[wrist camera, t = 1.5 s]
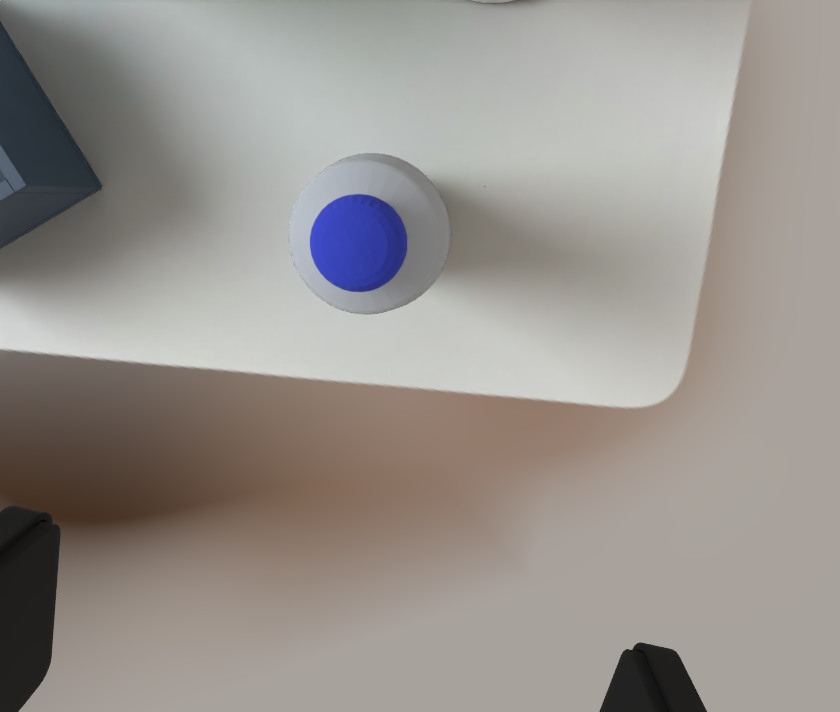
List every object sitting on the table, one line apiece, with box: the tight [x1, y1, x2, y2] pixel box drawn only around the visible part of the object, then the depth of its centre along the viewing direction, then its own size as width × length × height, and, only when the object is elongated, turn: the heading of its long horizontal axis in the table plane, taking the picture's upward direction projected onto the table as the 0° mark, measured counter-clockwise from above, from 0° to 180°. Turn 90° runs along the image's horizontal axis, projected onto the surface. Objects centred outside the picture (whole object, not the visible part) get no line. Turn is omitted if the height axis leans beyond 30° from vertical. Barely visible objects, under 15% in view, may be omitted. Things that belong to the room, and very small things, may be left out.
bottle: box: [289, 153, 450, 314], centre depth 30 cm, size 7×7×20 cm
